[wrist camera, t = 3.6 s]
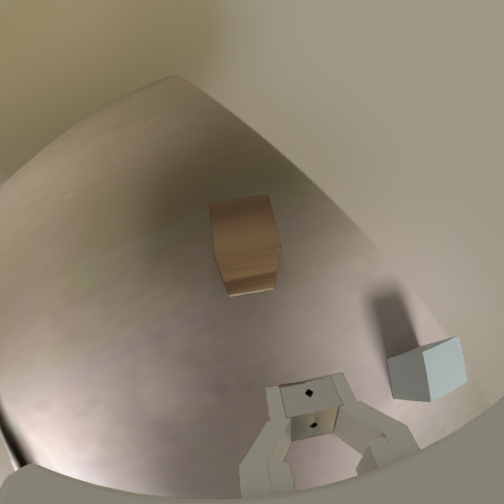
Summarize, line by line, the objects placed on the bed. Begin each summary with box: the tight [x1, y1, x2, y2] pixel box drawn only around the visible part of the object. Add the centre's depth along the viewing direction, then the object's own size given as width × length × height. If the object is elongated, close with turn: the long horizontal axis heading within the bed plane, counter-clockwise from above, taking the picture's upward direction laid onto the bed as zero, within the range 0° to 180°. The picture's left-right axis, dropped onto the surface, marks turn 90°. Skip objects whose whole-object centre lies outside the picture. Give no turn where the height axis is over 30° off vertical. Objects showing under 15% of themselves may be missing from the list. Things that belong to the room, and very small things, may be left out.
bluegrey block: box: [386, 336, 467, 402], centre depth 22 cm, size 5×5×8 cm
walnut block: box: [209, 195, 281, 297], centre depth 27 cm, size 5×5×11 cm
